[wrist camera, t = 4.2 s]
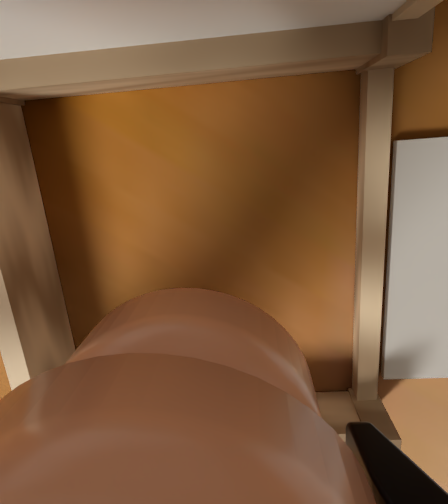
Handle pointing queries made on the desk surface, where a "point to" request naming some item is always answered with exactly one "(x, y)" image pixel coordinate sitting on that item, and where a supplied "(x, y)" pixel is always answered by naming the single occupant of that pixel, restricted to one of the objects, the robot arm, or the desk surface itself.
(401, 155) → the stone tile
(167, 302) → the seedling pot
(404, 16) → the lid pane
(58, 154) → the desk surface
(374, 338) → the frame
